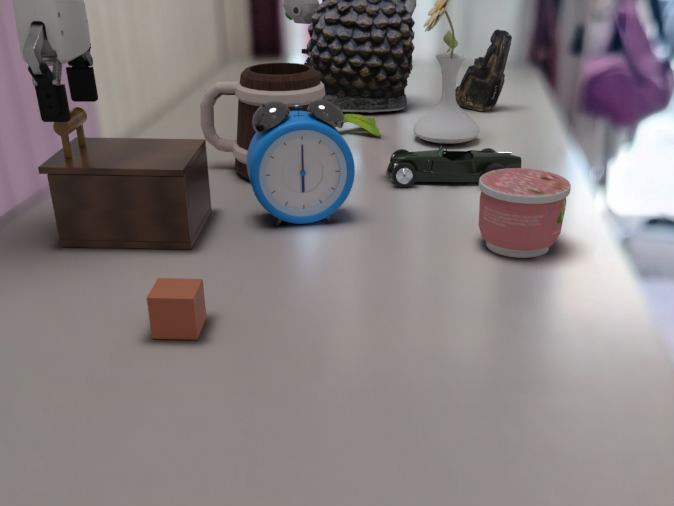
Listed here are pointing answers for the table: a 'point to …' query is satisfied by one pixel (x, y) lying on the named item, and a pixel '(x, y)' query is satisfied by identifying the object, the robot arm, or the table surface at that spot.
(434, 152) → the toy car
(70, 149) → the lid
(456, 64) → the flower in vase
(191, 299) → the block
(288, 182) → the alarm clock
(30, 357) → the table surface
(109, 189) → the chest
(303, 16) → the robot
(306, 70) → the mug
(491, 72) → the statue
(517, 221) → the container
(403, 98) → the pine cone sculpture
